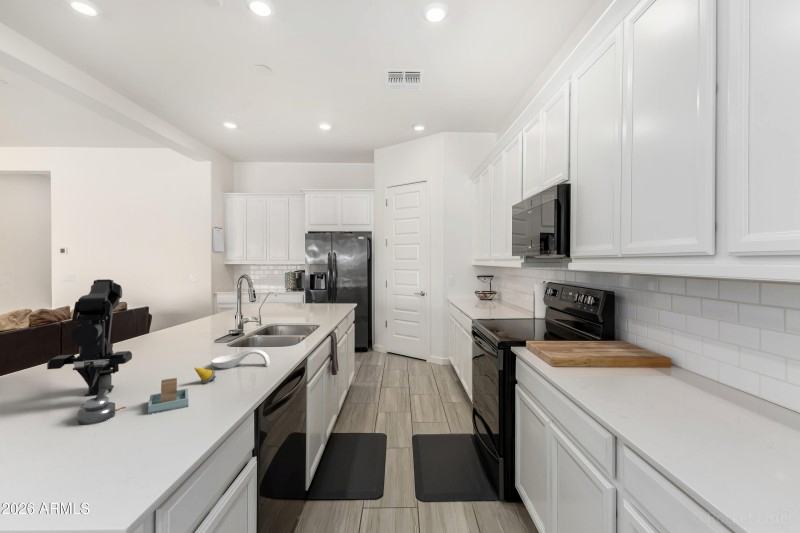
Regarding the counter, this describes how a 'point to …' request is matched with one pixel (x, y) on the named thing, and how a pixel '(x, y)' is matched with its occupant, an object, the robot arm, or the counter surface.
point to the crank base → (96, 415)
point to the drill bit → (205, 374)
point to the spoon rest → (237, 359)
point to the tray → (157, 406)
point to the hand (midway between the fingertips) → (91, 386)
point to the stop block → (168, 390)
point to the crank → (100, 395)
